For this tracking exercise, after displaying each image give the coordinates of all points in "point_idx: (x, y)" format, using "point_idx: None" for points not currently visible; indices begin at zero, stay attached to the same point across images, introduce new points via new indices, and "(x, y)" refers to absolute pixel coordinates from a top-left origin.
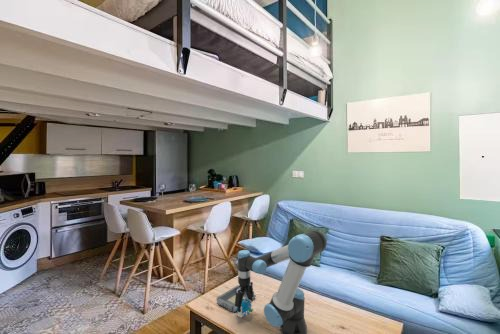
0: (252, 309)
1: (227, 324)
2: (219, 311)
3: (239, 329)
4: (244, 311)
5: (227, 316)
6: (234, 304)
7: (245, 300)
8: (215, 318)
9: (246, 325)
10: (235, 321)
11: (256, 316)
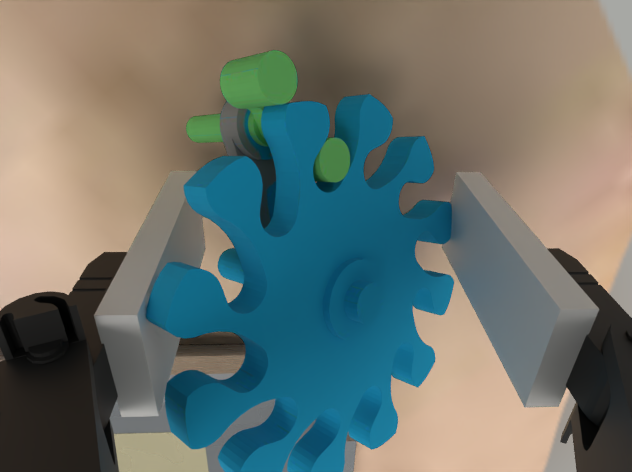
0: (273, 67)
1: (584, 261)
2: (413, 459)
3: (620, 51)
4: (391, 210)
5: (440, 356)
6: (220, 441)
7: (238, 404)
8: (543, 416)
9: (473, 17)
10: None
11: (144, 29)
